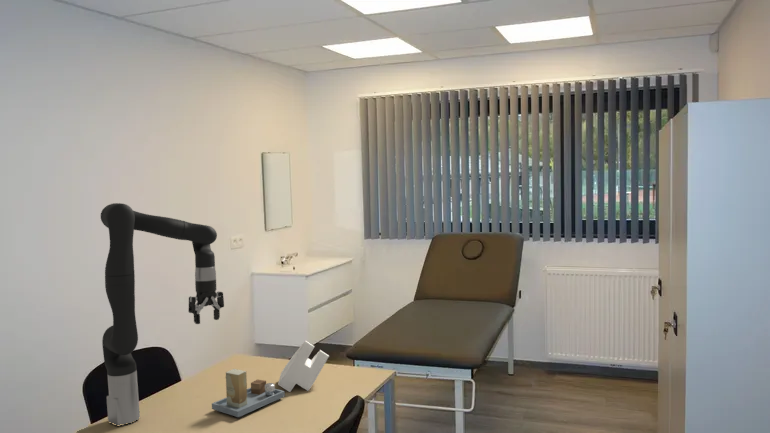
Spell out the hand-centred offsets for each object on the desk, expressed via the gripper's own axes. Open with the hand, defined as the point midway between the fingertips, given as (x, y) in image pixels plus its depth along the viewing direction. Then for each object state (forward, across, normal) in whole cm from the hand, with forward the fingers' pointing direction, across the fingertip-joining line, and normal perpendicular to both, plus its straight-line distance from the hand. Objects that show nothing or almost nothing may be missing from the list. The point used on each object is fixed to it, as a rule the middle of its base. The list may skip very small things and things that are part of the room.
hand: (207, 321), depth 225 cm
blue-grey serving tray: (+29, +3, -19) cm, 35 cm away
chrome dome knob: (+27, +10, -22) cm, 36 cm away
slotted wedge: (+28, +29, -22) cm, 46 cm away
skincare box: (+28, -2, -18) cm, 33 cm away
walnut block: (+27, +10, -16) cm, 33 cm away
